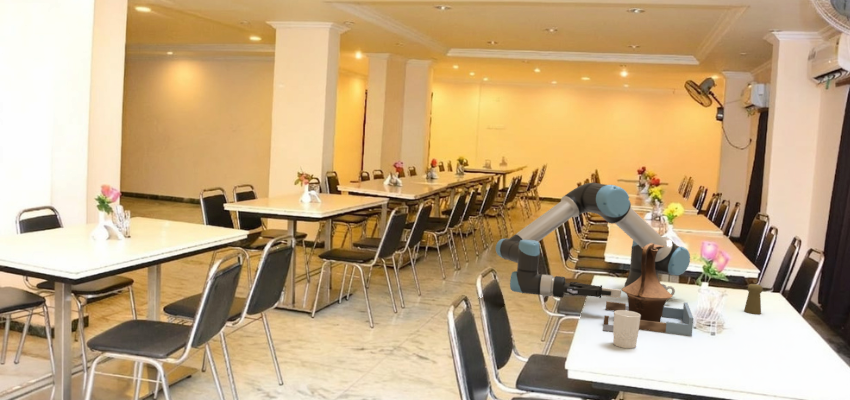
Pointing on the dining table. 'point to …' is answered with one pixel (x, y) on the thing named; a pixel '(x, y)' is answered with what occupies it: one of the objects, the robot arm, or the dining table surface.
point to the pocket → (679, 314)
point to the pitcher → (647, 288)
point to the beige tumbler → (626, 328)
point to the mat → (608, 328)
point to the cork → (753, 299)
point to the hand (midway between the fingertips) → (620, 293)
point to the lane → (643, 323)
